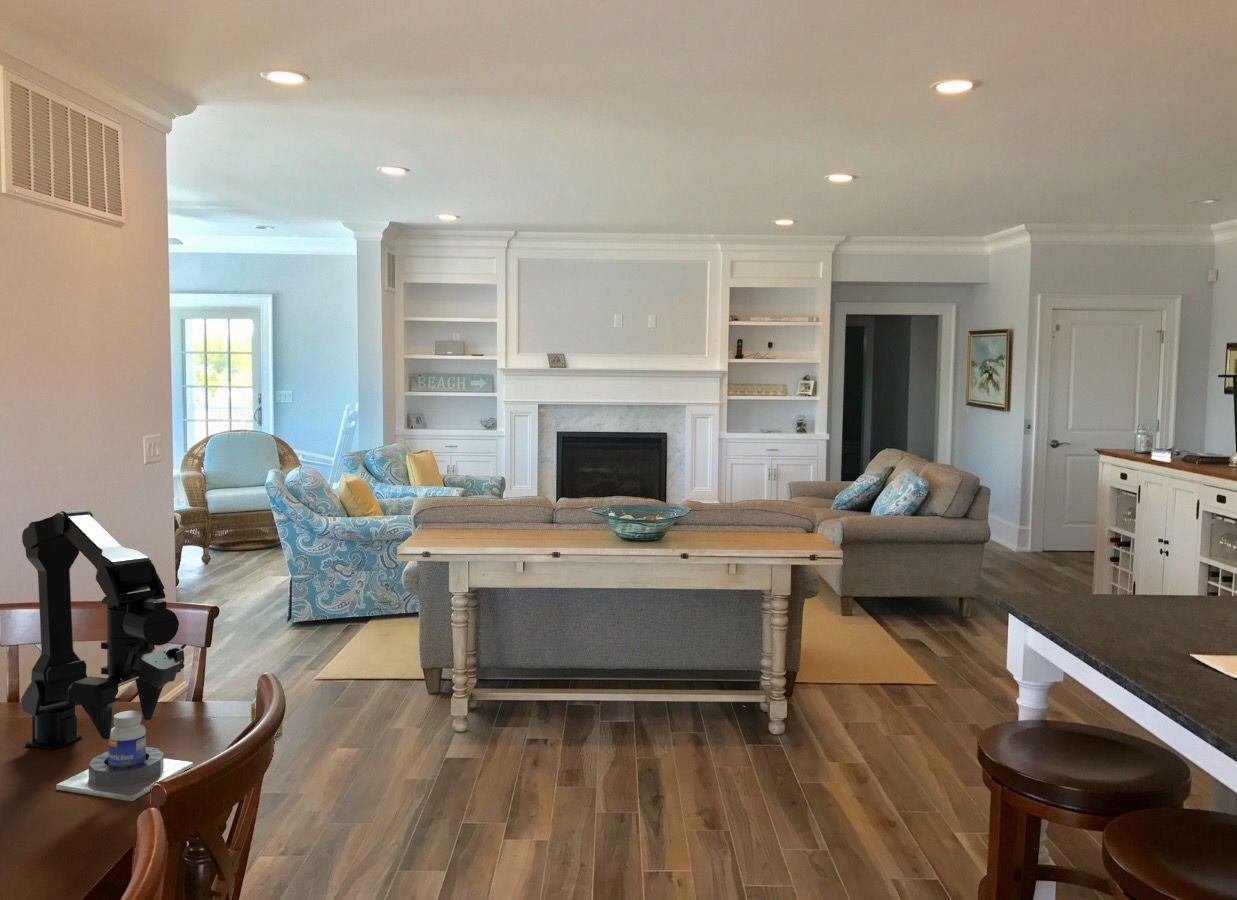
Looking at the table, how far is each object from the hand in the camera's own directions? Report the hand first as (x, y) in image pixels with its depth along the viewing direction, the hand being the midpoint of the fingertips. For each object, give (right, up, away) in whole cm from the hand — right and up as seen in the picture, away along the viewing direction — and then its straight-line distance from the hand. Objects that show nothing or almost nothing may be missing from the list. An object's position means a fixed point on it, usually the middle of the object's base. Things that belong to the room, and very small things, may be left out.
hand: (127, 729), depth 156 cm
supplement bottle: (+15, -8, +19) cm, 26 cm away
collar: (0, -8, +1) cm, 8 cm away
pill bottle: (0, -8, +1) cm, 8 cm away
